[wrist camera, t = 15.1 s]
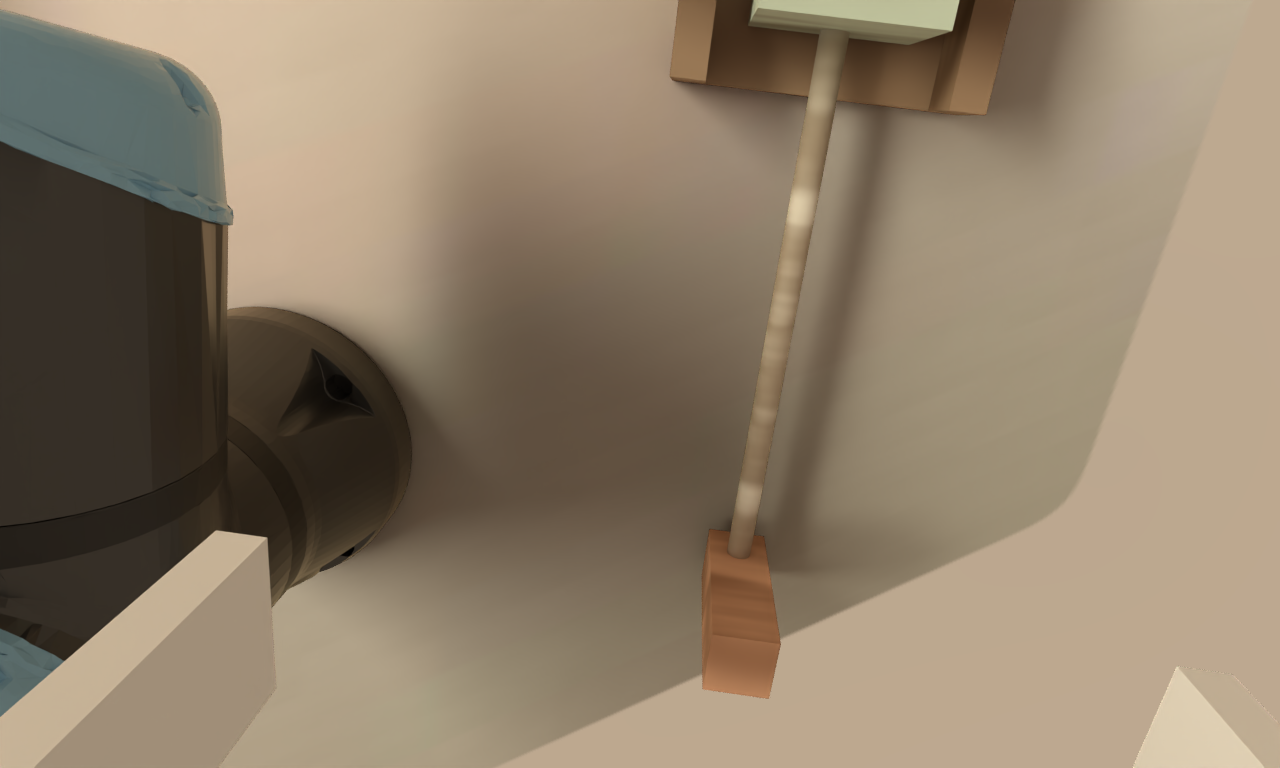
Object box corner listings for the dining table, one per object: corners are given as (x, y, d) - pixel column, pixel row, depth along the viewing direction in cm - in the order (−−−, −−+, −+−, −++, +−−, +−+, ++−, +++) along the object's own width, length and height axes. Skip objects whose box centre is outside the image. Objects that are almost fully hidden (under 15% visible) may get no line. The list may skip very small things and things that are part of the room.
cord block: (790, 587, 43) (813, 705, 34) (666, 570, 43) (658, 683, 34) (948, -143, 31) (1043, -241, 22) (775, -163, 31) (804, -266, 22)
